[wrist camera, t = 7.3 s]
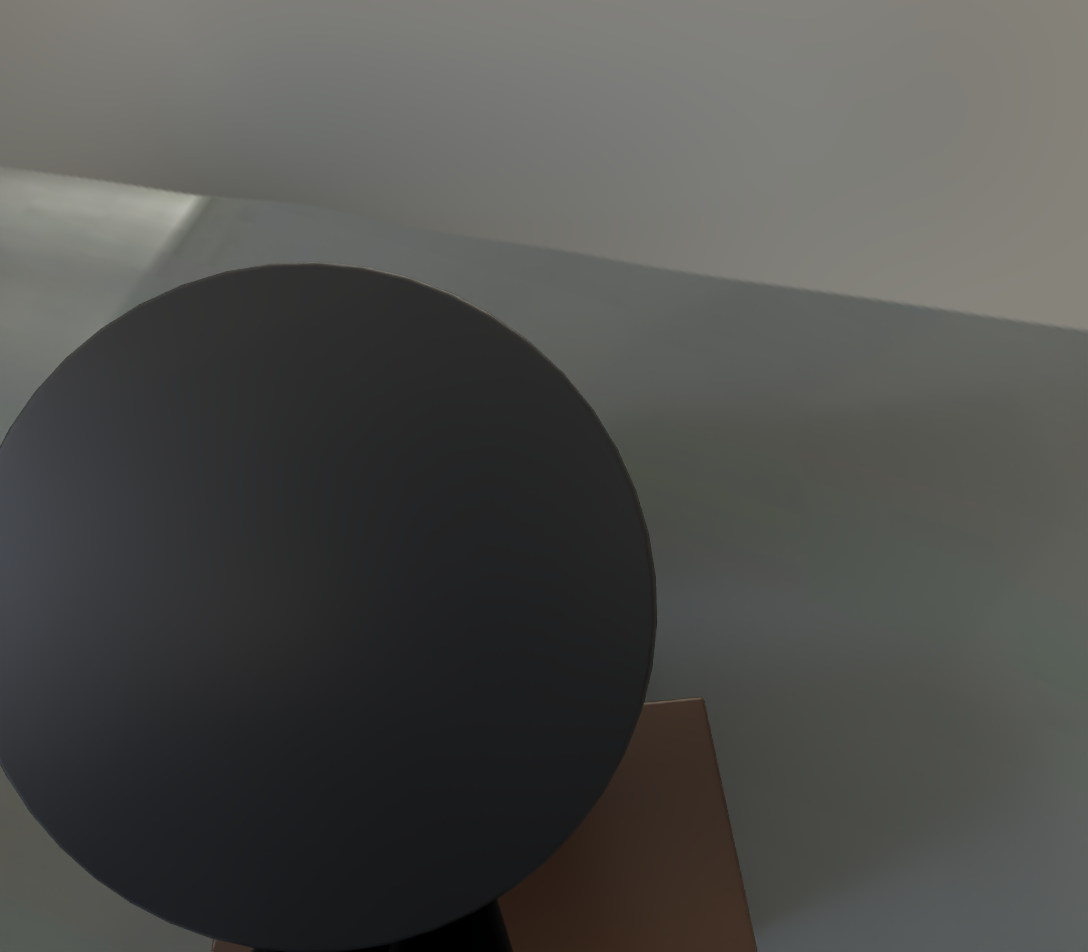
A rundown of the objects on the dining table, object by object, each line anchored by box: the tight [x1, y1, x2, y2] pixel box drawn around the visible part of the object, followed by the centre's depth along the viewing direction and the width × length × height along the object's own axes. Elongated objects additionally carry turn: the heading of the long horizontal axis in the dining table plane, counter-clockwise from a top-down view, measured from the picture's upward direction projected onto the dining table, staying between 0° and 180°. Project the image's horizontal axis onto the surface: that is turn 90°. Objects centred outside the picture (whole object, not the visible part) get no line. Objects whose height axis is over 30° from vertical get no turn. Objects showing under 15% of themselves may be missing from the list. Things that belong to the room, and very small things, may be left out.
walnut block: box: [211, 697, 757, 952], centre depth 11 cm, size 4×8×4 cm, turn 95°
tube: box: [0, 262, 657, 952], centre depth 10 cm, size 12×5×12 cm, turn 5°
